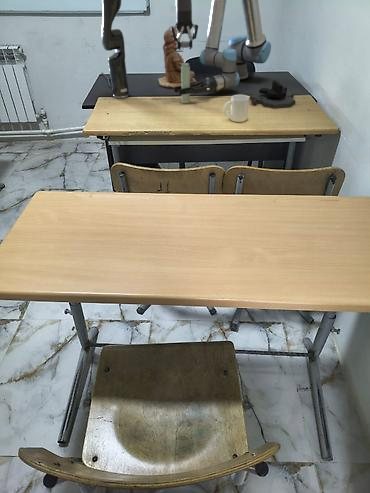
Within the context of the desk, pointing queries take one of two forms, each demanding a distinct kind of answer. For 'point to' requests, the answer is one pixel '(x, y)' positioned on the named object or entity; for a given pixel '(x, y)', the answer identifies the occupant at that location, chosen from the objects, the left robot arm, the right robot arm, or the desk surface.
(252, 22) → the right robot arm
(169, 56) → the sculpture
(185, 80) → the bottle
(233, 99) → the mug
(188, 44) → the lid
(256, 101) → the abstract sculpture
